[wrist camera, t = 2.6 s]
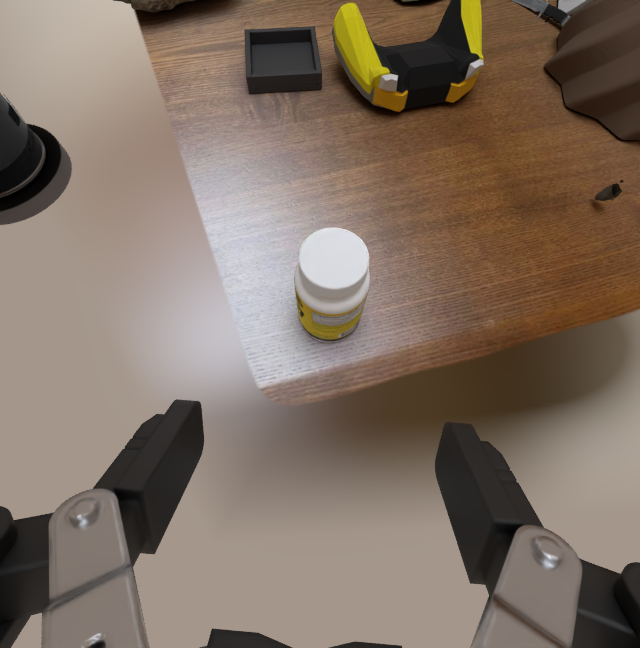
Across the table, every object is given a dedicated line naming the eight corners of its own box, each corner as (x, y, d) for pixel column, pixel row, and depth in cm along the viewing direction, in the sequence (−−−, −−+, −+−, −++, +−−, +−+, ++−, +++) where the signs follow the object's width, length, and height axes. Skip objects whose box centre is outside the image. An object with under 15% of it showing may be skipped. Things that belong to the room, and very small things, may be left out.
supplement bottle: (301, 284, 29) (296, 217, 21) (361, 289, 28) (378, 223, 21) (294, 341, 27) (286, 290, 19) (357, 347, 27) (375, 298, 19)
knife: (498, -8, 44) (498, -11, 43) (511, -25, 43) (511, -27, 43) (562, 37, 41) (561, 34, 41) (577, 20, 40) (577, 18, 40)
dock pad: (249, 93, 37) (246, 76, 35) (247, 47, 39) (244, 29, 38) (321, 89, 37) (321, 72, 35) (314, 43, 40) (314, 26, 38)
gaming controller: (327, 59, 39) (352, 125, 35) (329, -3, 33) (359, 66, 30) (457, 39, 40) (494, 100, 37) (477, -23, 35) (523, 41, 31)
